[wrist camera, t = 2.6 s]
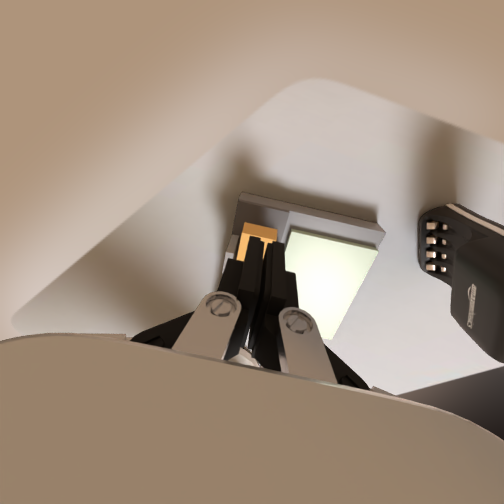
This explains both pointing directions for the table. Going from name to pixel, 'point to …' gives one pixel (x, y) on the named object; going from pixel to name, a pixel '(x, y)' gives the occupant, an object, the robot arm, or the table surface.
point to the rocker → (257, 231)
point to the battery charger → (468, 270)
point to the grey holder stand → (315, 253)
